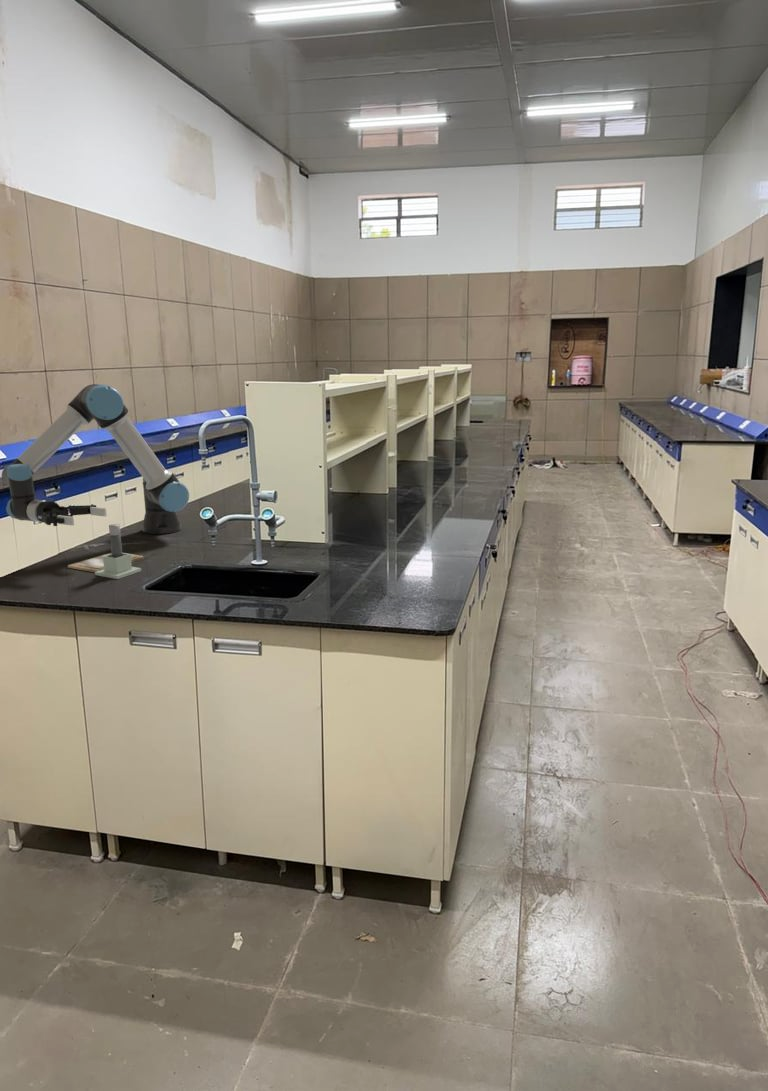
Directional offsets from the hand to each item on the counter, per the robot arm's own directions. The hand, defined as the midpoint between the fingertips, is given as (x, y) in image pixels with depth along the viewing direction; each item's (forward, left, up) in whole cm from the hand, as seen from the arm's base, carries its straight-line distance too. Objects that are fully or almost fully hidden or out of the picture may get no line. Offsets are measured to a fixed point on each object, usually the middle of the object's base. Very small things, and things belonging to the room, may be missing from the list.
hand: (89, 516), depth 242 cm
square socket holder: (+2, +13, -17) cm, 22 cm away
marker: (+2, +14, -16) cm, 21 cm away
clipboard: (-5, 0, -17) cm, 18 cm away
